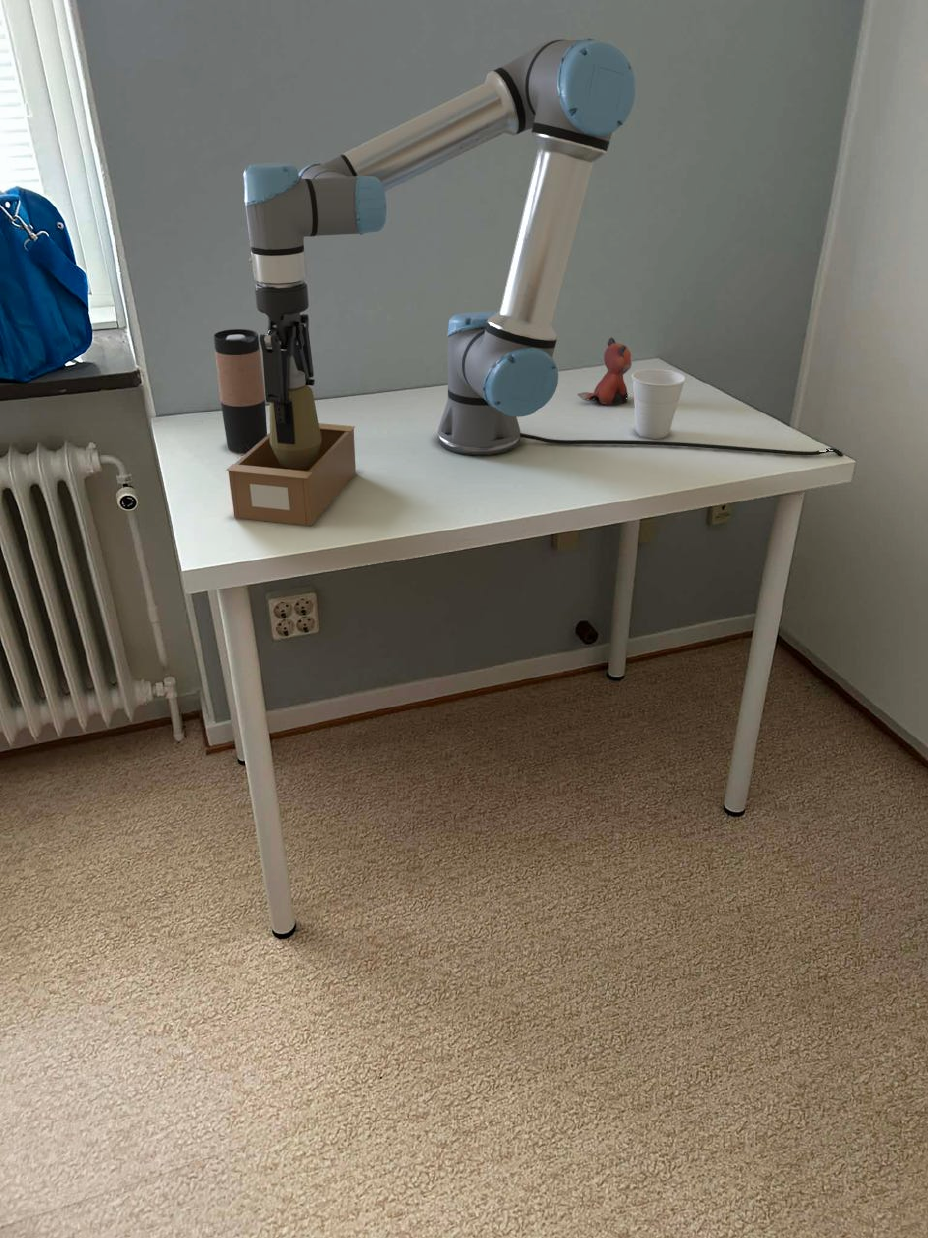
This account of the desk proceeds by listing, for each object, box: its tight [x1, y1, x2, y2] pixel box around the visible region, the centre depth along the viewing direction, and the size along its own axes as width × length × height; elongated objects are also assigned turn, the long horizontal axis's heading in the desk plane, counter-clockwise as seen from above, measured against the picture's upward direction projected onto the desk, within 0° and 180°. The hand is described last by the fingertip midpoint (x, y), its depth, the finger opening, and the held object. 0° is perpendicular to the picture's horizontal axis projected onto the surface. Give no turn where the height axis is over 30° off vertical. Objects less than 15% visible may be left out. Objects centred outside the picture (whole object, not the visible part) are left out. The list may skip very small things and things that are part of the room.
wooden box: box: [225, 422, 357, 527], centre depth 153 cm, size 13×23×8 cm, turn 167°
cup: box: [631, 368, 687, 440], centre depth 179 cm, size 10×10×11 cm
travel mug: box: [213, 328, 268, 454], centre depth 168 cm, size 8×8×20 cm
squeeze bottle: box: [269, 349, 322, 469], centre depth 148 cm, size 8×8×18 cm
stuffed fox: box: [577, 337, 632, 406], centre depth 195 cm, size 8×11×12 cm
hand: (295, 434), depth 150 cm, fingers closed on squeeze bottle, 6 cm apart
